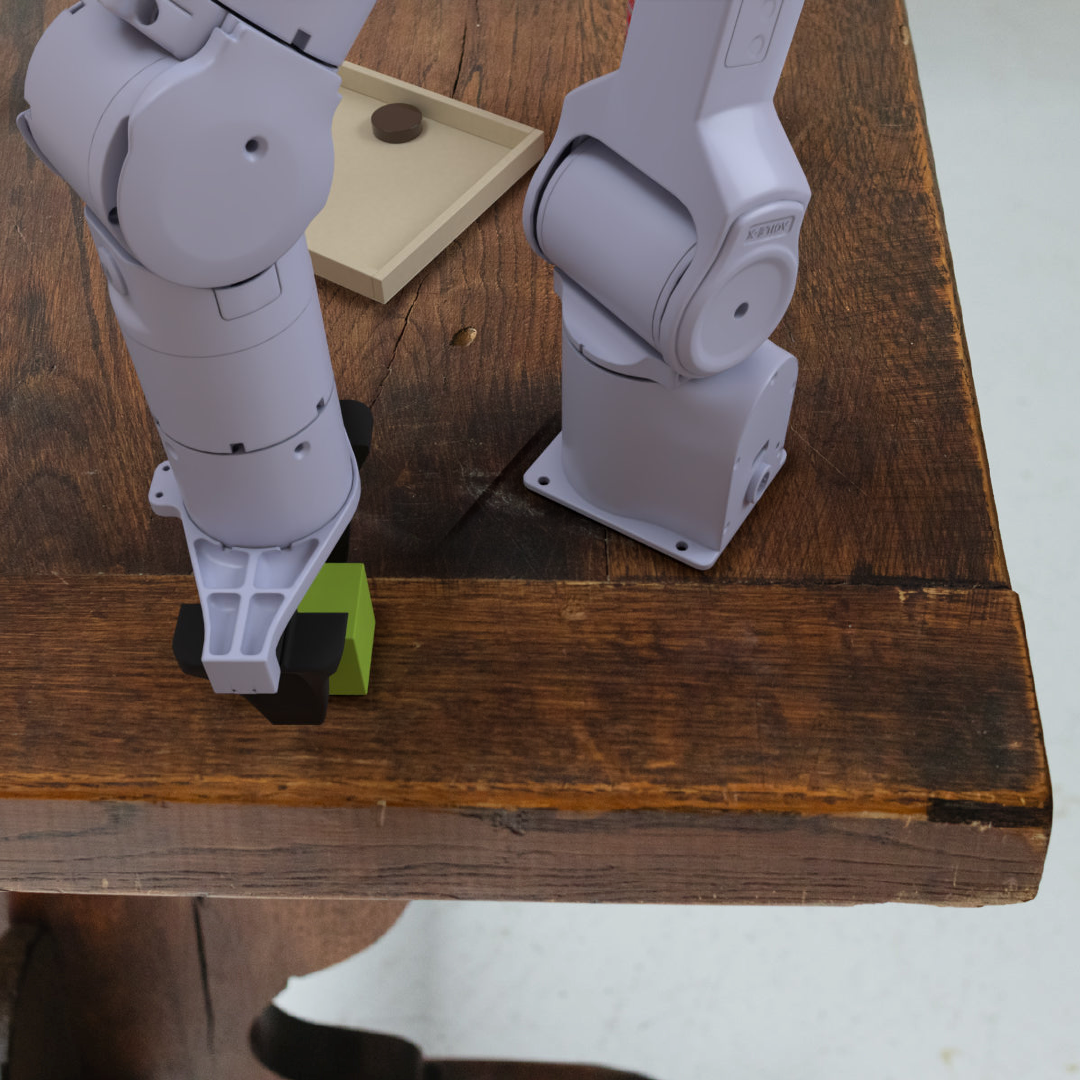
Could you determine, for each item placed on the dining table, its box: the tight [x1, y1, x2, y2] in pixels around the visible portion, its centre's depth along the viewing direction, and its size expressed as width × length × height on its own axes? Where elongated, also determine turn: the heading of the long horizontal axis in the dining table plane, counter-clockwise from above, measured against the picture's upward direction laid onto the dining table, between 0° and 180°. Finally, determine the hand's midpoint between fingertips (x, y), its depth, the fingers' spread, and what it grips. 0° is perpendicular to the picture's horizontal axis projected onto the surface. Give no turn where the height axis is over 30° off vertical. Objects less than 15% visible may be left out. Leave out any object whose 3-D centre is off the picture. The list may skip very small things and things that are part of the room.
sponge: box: [297, 562, 376, 696], centre depth 49 cm, size 5×4×4 cm
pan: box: [305, 59, 545, 305], centre depth 70 cm, size 17×15×2 cm
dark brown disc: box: [371, 103, 423, 144], centre depth 73 cm, size 3×3×1 cm
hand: (310, 635), depth 50 cm, fingers open, 7 cm apart
